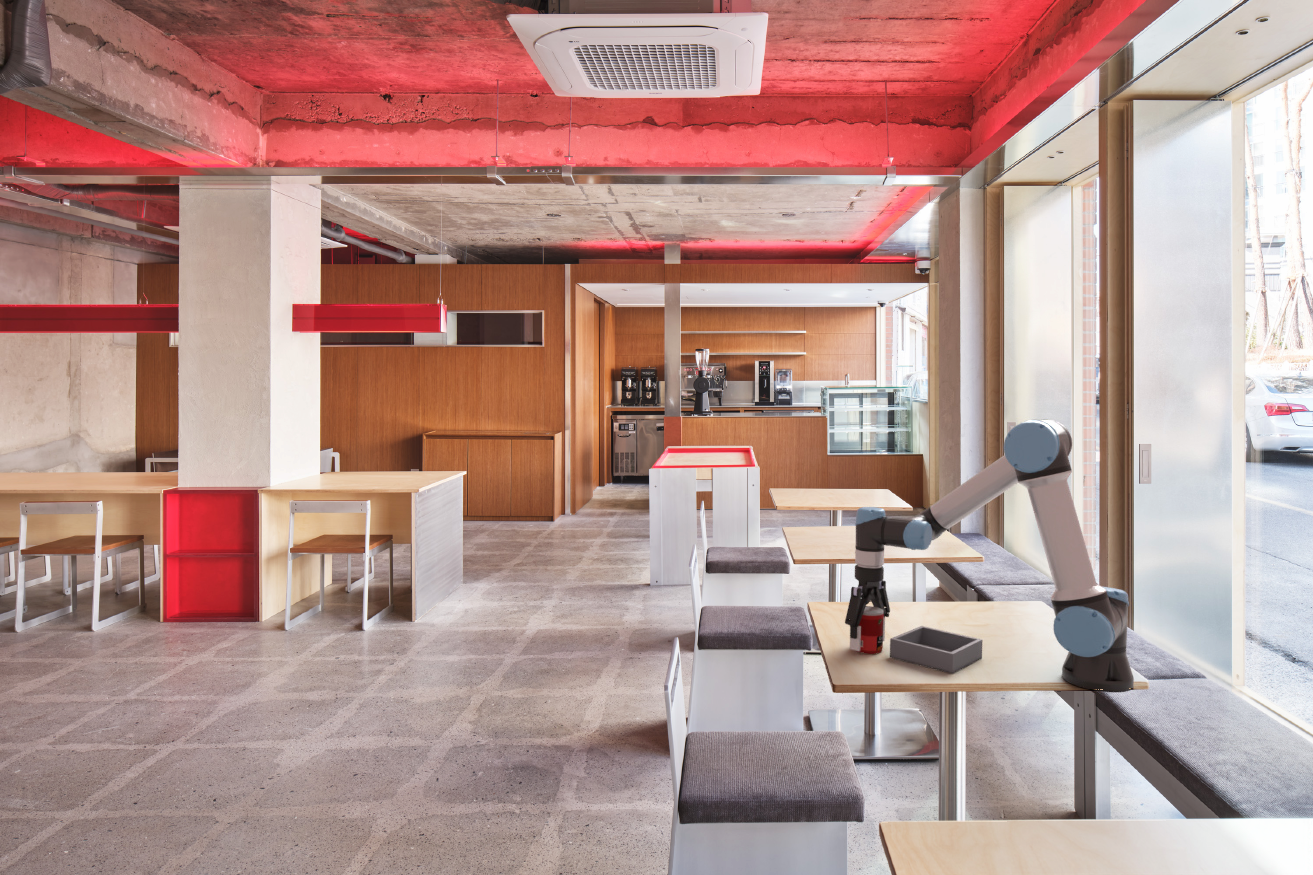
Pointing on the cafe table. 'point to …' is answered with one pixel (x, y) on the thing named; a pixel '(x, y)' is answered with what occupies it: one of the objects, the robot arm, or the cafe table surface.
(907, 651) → the box
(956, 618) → the cafe table surface
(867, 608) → the canned food
